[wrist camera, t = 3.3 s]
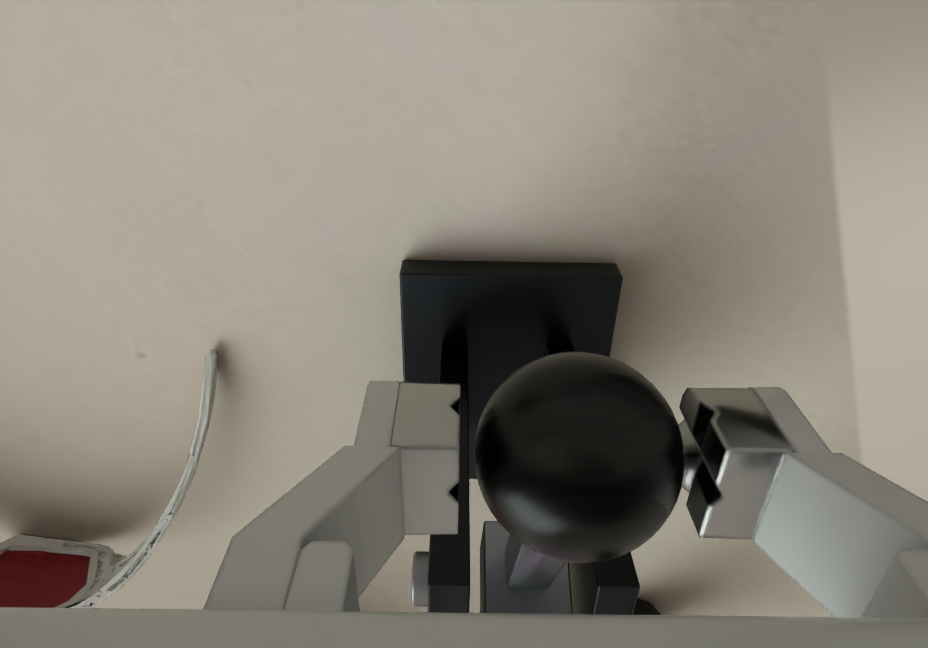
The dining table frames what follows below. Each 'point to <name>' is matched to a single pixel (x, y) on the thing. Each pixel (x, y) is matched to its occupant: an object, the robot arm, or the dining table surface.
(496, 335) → the switch bracket
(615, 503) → the lever
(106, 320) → the dining table surface
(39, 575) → the sunglasses
